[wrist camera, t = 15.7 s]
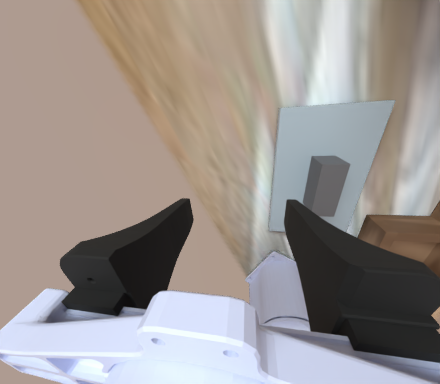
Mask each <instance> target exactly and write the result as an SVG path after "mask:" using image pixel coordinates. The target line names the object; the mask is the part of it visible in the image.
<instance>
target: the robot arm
mask: <svg viewBox="0 0 440 384" xmlns="http://www.w3.org/2000/svg"><path fill="white" fill-rule="evenodd" d="M192 223H193V215H192V209H191V204H190V199H180V200H179V201H177V202H175V203H174V204H172V205H170V206H169V207H167V208H166V209H164V210H162V211H161V212H159V213H157V214H156V215H154V216H152V217H150V218H149V219H147V220H145V221H142V222H140V223H138V224H136V225H134V226H131V227H129V228H126V229H124V230H121V231H118V232H115V233H112V234H109V235H105V236H102V237H98V238H95V239H91V240H87V241H82V242H80V243H79V244H77V245H76V246H75V247H74V248H73V249H71V250H70V251H69V252H68V253H66V254H65V255H64V256H63V257H62V258H61V259H60V267H61V269H62V271H63V272H64V274H65V275H66V276H67V278H68V279H69V280H70V281H71V283H72V284H73V285H74V286H75V288H74V289H73V290H72V291H71V292H70V293H69V292H67V291H65V290H59V289H52V288H47V289H45V290H44V291H43V292H42V293H41V294H40V295H39V296H37V297H36V298H35V299H34V300H33V301H32V302H31V303H30V304H29V305H28V306H26V307H25V308H24V309H23V310H22V311H21V312H20V313H19V314H18V315H16V317H14V318H13V319H12V320H11V321H10V322H9V323H8V324H7V325H6V326H4V327H3V328H2V329H1V330H0V360H1V361H3V362H5V363H6V364H8V365H10V366H12V367H13V368H15V369H17V370H18V371H20V372H23V373H27V374H31V375H35V376H39V377H42V378H46V379H49V380H53V381H56V382H59V383H62V384H440V334H439V333H438V331H437V330H436V329H439V328H440V326H439V324H438V323H437V322H436V321H435V319H434V318H433V317H432V316H431V315H432V314H433V313H434V312H435V311H436V310H437V309H438V308H439V306H440V277H439V276H437V275H436V274H435V273H434V272H433V271H432V270H431V269H430V268H429V267H428V266H426V265H425V264H424V263H423V262H420V261H417V260H414V259H411V258H408V257H405V256H402V255H399V254H396V253H393V252H390V251H387V250H385V249H382V248H380V247H377V246H375V245H372V244H370V243H367V242H365V241H363V240H361V239H358V238H356V237H354V236H352V235H350V234H348V233H346V232H344V231H342V230H340V229H339V228H337V227H335V226H333V225H332V224H330V223H328V222H327V221H325V220H324V219H322V218H321V217H319V216H318V215H316V214H315V213H314V212H312V211H311V210H309V209H308V208H307V207H306V206H304V205H303V204H302V203H300V202H299V201H298V200H296V199H287V201H286V209H285V217H284V227H285V232H286V236H287V239H288V242H289V245H290V247H291V250H292V253H293V256H294V259H295V261H294V260H292V259H290V258H288V257H286V256H284V255H282V254H280V253H278V252H275V251H274V252H272V253H271V254H270V255H269V256H268V257H267V258H266V259H265V260H264V261H263V262H262V263H261V264H260V265H259V266H257V267H256V268H255V269H254V270H253V271H252V272H251V273H250V274H249V275H248V276H247V277H246V279H245V281H246V282H248V283H249V294H250V304H249V303H247V302H245V301H244V300H242V299H239V298H235V297H231V296H223V295H213V294H204V293H194V292H185V291H175V290H167V289H168V285H169V282H170V278H171V276H172V272H173V270H174V267H175V264H176V261H177V258H178V256H179V254H180V252H181V249H182V247H183V245H184V243H185V241H186V239H187V237H188V235H189V232H190V229H191V227H192Z"/></svg>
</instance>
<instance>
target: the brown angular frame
mask: <svg viewBox="0 0 440 384" xmlns="http://www.w3.org/2000/svg"><path fill="white" fill-rule="evenodd" d="M358 239H361V240H363V241H365V242H367V243H370V244H372V245H375V246H377V247H380V248H382V249H385V250H387V251H390V252H393V253H396V254H399V255H402V256H405V257H408V258H411V259H414V260H417V261H420V262H423V263H424V264H425V265H426V266H428V267H429V268H430V269H431V270H432V271H433V272H434V273H435V274H436V275H437V276H439V277H440V201H439V203H438V205H437V206H436V208H435V209H434V211H433V213H432V214H431V216H399V215H367V216H366V218H365V221H364V223H363V225H362V228H361V230H360V233H359V235H358Z"/></svg>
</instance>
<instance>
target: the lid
mask: <svg viewBox="0 0 440 384" xmlns="http://www.w3.org/2000/svg"><path fill="white" fill-rule="evenodd" d="M395 101H396V100H385V101H371V102H357V103H343V104H329V105H315V106H301V107H287V108H279V113H278V124H277V136H276V147H275V158H274V170H273V181H272V192H271V204H270V215H269V226H268V227H269V231H281V232H285V227H284V217H285V209H286V201H287V199H296V200H298V201H299V202H300V203H302V204H303V205H304V206H306V207H307V208H308V209H309V210H311V211H312V212H314V213H315V214H316V215H318V216H319V217H321V218H322V219H324V220H325V221H327V222H328V223H330V224H332V225H333V226H335V227H337V228H339V229H340V230H342V231H344V232H346V231H347V229H348V226H349V223H350V221H351V218H352V215H353V213H354V210H355V207H356V205H357V202H358V199H359V197H360V194H361V191H362V189H363V186H364V183H365V181H366V178H367V175H368V173H369V170H370V167H371V165H372V162H373V159H374V157H375V154H376V151H377V149H378V146H379V143H380V141H381V138H382V135H383V133H384V130H385V127H386V125H387V122H388V119H389V117H390V114H391V111H392V109H393V106H394V103H395Z"/></svg>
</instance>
